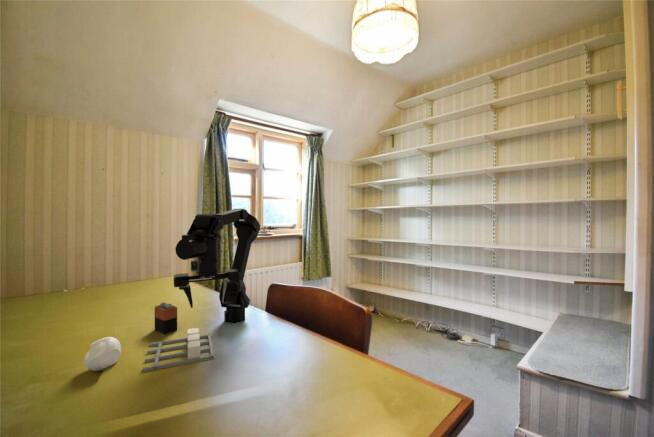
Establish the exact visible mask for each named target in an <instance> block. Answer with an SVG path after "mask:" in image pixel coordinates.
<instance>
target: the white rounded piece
mask: <svg viewBox="0 0 654 437" xmlns="http://www.w3.org/2000/svg"><path fill="white" fill-rule="evenodd" d="M121 354H122V344H121V343H120V341H119V340H118V339H117V338H115V337H113V336H106V337H103V338H100V339H98V340H95V341H93V342H92V343H90V348H89V350H88V351H87V353H85V355H84V361H83V365H84V366H85V367H86V368H87V369H88V370H89V371H94V372H98V371H99V372H100V371H103V370H105V369H106V368H108V367H111V366H112V365H114V364H116V363H117V362H118V361H119V360H120V359H119V358H121Z"/></svg>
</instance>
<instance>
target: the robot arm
mask: <svg viewBox="0 0 654 437" xmlns="http://www.w3.org/2000/svg"><path fill="white" fill-rule="evenodd" d="M232 223H233V224H232ZM229 224H232V225H233V227H234V229H235V233H236V237H237V239H238V241H237V244H236V245H237V246H236V249H235V253H234V257H233V260H232V266H231V269H230V268H229V269H224V272H220V273H219V272H218V271H219V267H218V266H219V265H218V264H219V261H218V260H219V259H218V257H219V254H218V253H219V252H218V251H219V250H218V247H219V246H218V240H220V239H222V236H221V235H220V234H219V232H220V231H222V230H223V229H224V227H225V226H226V225H229ZM260 230H261V223H260V222H259V221H258V219H257V217H255V216H254V215H252V214H251V213H249V212H248V210H247V209H245V208H233V209H231V210H227V211H222V212H219V213H198V214H196V215H195V216H194V219H193V221H192V223H191V225H190V227H189V228H188V231H187V232H186V234H182V235H181V239H180V240H179V241H178V242H177V243H176V246H175V248H174V249H175V254H176V256H177V257H178V258H179V259H180V260H183V261H186V260H190V272H192V273H193V272H196V274H195V275H189V273H175V275H173V287H174V288H178V289H179V291H181V290H183V292H184V294H185V296H186V298H187V300H188V302H189V307H190V308H191V309H193V307H194V306H193V297H192V296H193V295H192V290H191V285H190V283H195V282H207V281H216V280H223V281H222V282H221V286H220V290H219V295H218V298H219V302H220V307H221V308H225V310H224V311H223V313H224V314H223V320H224V324H238V323H239V324H240V323H241V322H244V321H246V309H248V308H249V306H250V302H251V299H250V298H249V296H248V295H247V293H246V291H247V287H246V285H245V280H244V279H245V274H246V269H247V264H248V260H249V256H250V251H251V247H252V243H253V242H254V241H255V240H256V239H257V238H258V236H259V232H260ZM196 258H197V260H191V259H196Z"/></svg>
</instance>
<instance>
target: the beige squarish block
mask: <svg viewBox="0 0 654 437" xmlns="http://www.w3.org/2000/svg"><path fill="white" fill-rule="evenodd" d="M199 336H200V333H199V334H195V335H188V334H187V337H188V341H187V343H188V342H193V341H200V342H201V340H200V337H199Z"/></svg>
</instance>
